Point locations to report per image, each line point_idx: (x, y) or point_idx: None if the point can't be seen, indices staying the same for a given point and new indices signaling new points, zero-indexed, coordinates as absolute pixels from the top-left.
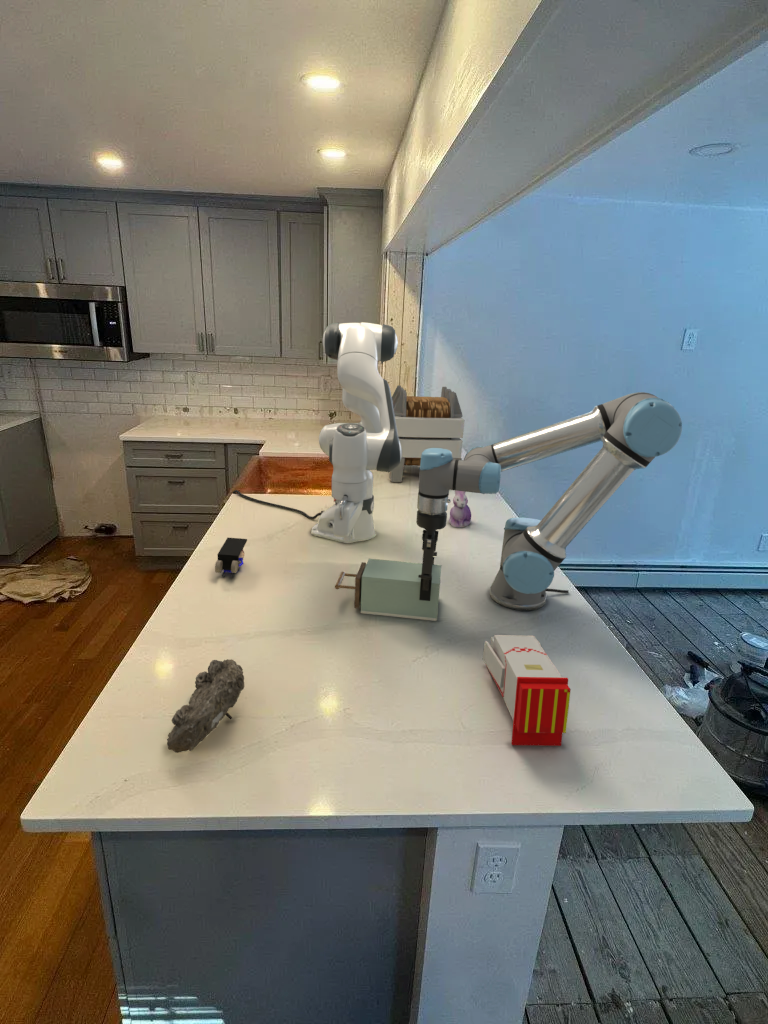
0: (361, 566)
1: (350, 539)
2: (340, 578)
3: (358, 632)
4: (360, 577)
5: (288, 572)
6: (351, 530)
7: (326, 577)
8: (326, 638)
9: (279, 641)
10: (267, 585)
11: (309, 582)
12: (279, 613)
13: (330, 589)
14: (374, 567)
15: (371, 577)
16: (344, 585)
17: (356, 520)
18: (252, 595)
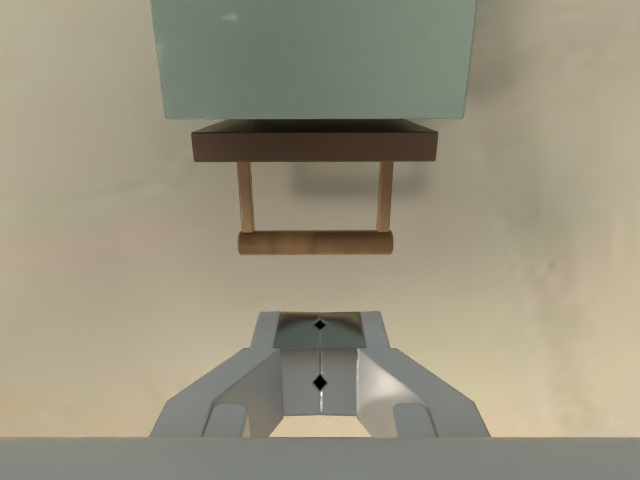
0: (260, 152)
1: (383, 326)
2: (319, 244)
3: (558, 87)
4: (412, 131)
5: None
6: (256, 380)
7: (143, 298)
8: (598, 199)
9: (611, 333)
10: None
11: (205, 345)
12: (443, 376)
13: (237, 263)
14: (307, 48)
15: (471, 45)
16: (380, 210)
17: (166, 451)
18: None
